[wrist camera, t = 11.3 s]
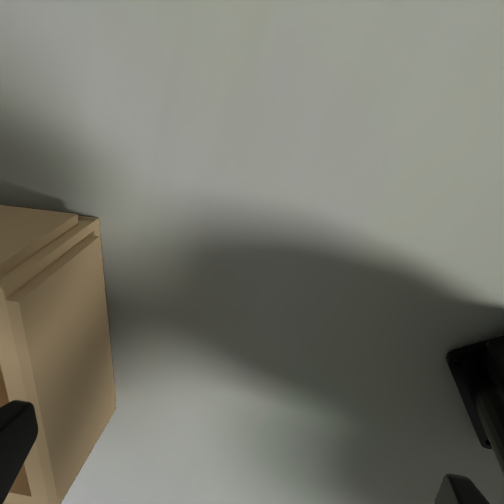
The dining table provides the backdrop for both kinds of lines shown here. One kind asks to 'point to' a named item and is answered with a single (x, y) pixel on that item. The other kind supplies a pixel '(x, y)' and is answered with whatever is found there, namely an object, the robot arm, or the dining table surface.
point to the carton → (54, 343)
